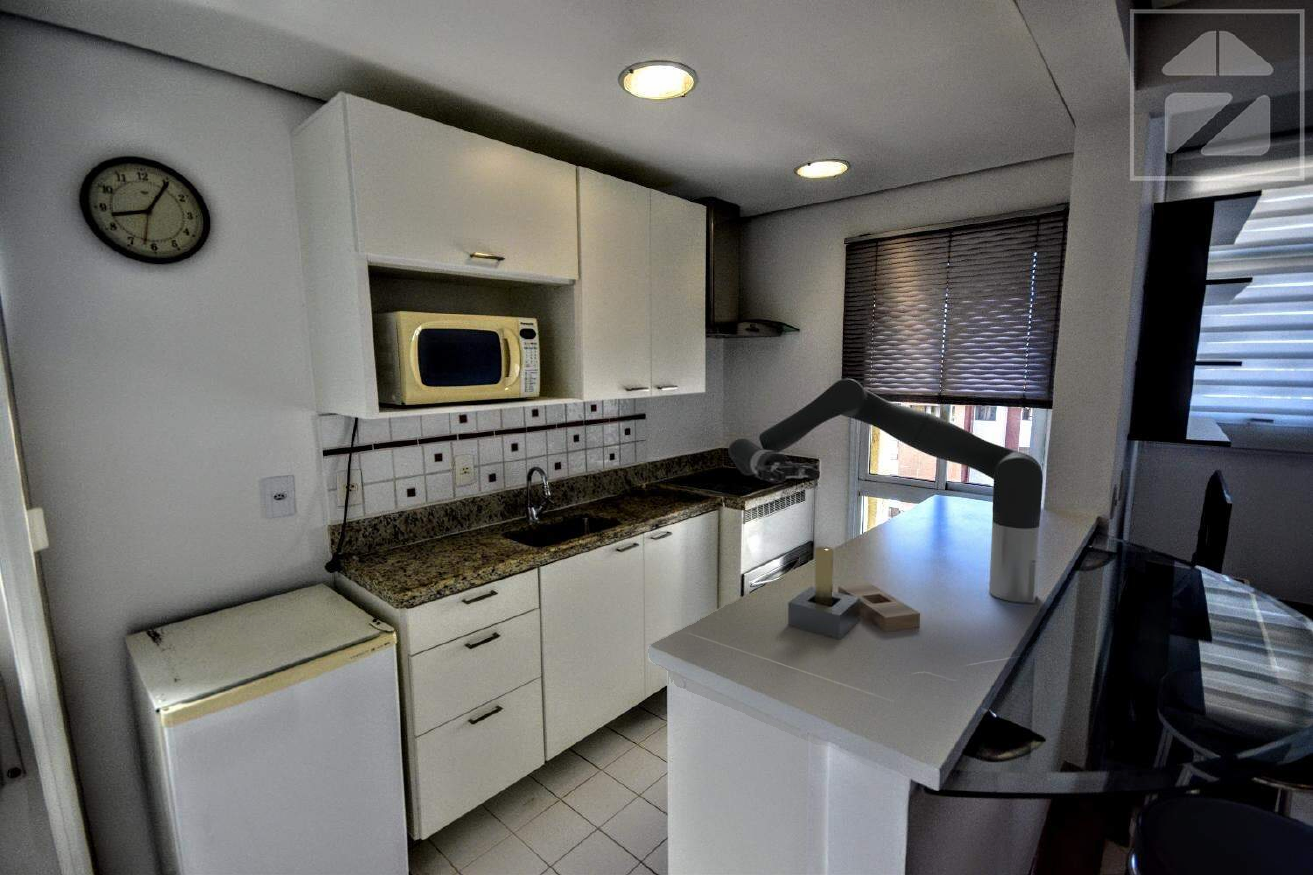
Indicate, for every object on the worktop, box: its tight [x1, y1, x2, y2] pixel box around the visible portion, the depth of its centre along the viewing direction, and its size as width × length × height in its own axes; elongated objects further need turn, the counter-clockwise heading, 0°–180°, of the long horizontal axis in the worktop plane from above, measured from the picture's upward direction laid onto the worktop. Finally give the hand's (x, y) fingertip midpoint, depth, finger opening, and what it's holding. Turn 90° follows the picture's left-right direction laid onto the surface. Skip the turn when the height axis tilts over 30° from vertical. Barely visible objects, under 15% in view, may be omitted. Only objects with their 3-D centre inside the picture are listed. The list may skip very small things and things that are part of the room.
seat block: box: [787, 586, 860, 641], centre depth 121 cm, size 11×11×5 cm
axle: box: [814, 546, 834, 607], centre depth 121 cm, size 4×4×16 cm
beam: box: [837, 582, 921, 633], centre depth 126 cm, size 18×8×3 cm, turn 13°
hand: (800, 476), depth 129 cm, fingers open, 8 cm apart
